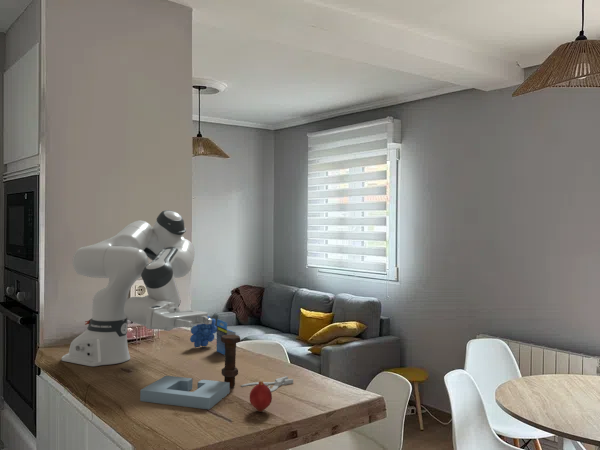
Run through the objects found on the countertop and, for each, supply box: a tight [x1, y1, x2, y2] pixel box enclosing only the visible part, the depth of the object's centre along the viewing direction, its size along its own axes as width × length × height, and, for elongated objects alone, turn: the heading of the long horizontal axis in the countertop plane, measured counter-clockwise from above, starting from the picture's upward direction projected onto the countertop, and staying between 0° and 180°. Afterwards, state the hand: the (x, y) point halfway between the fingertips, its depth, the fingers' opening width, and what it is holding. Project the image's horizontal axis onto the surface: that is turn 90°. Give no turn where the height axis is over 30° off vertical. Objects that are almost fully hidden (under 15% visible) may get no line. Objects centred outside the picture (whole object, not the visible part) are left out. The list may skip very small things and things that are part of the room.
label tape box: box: [216, 318, 237, 356], centre depth 198 cm, size 9×4×12 cm, turn 34°
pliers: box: [240, 375, 294, 393], centre depth 161 cm, size 10×2×15 cm
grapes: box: [189, 315, 217, 348], centre depth 206 cm, size 12×7×12 cm, turn 131°
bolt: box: [221, 334, 241, 389], centre depth 159 cm, size 6×5×15 cm
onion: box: [249, 380, 273, 412], centre depth 140 cm, size 6×6×8 cm
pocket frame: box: [139, 375, 231, 410], centre depth 149 cm, size 20×14×3 cm
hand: (200, 323), depth 164 cm, fingers open, 8 cm apart
